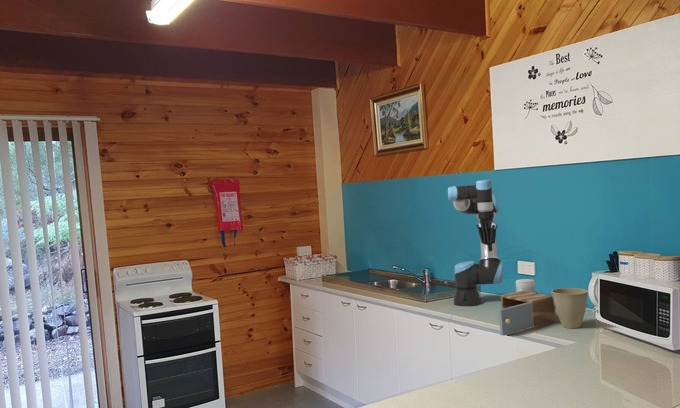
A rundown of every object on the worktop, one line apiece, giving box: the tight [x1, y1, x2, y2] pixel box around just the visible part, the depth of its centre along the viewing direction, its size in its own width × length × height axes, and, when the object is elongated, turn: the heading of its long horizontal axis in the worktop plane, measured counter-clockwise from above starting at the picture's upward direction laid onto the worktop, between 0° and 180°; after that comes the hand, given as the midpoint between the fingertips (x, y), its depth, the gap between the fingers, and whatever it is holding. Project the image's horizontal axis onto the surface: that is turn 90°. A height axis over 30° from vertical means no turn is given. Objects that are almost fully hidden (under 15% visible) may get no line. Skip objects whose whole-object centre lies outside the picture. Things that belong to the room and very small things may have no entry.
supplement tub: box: [515, 278, 537, 293], centre depth 279 cm, size 10×10×15 cm
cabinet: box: [500, 291, 557, 328], centre depth 254 cm, size 20×14×12 cm
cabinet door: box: [498, 302, 534, 336], centre depth 236 cm, size 20×3×11 cm, turn 121°
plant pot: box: [551, 287, 589, 329], centre depth 239 cm, size 15×15×16 cm
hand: (489, 257), depth 269 cm, fingers closed
